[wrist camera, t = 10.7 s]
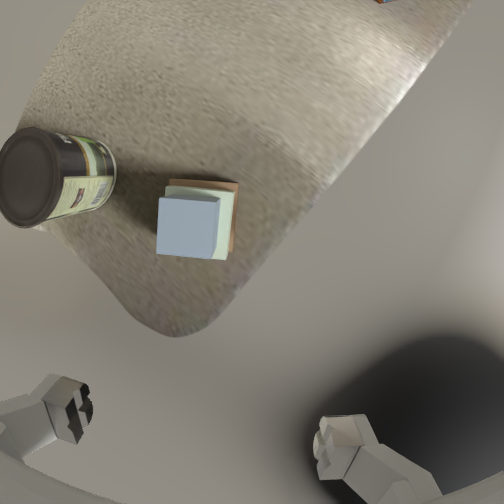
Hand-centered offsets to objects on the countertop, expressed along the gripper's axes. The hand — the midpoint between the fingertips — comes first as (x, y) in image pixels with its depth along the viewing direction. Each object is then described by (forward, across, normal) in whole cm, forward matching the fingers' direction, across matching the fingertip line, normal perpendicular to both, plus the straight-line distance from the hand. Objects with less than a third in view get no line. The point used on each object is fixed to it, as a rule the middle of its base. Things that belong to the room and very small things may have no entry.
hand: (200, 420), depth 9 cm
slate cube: (+24, +4, -3) cm, 24 cm away
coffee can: (+32, +22, -7) cm, 39 cm away
